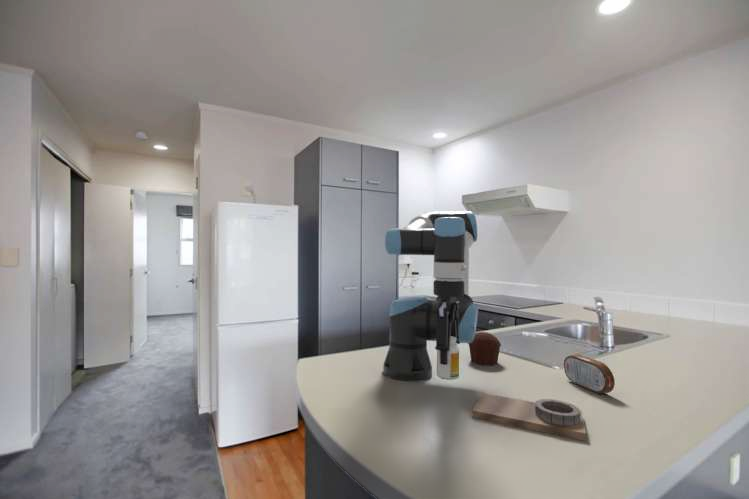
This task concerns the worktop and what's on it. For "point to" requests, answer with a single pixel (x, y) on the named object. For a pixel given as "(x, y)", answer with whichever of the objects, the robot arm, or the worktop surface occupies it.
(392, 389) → the worktop surface
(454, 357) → the supplement bottle
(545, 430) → the board
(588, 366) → the tin
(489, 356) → the muffin
